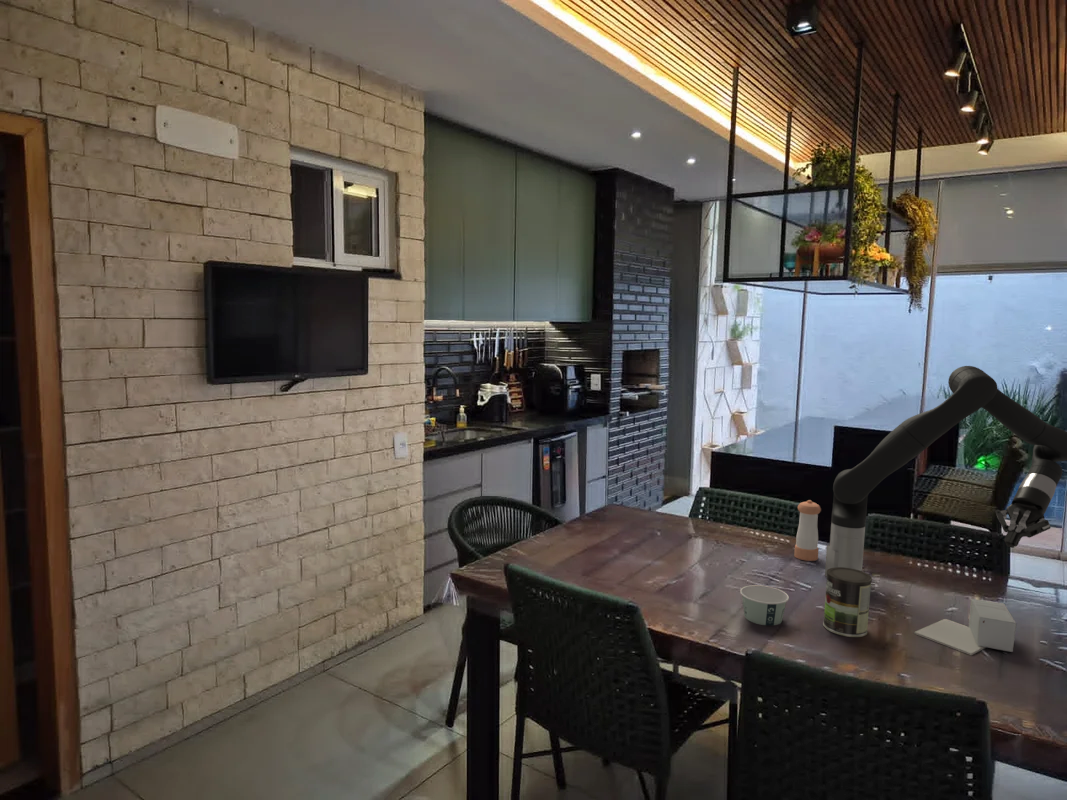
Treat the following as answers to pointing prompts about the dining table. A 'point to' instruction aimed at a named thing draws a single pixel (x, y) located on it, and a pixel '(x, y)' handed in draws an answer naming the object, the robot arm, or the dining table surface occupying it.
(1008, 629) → the supplement box
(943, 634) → the mat
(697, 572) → the dining table surface
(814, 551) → the pepper shaker
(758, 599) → the food container
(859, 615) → the coffee can
